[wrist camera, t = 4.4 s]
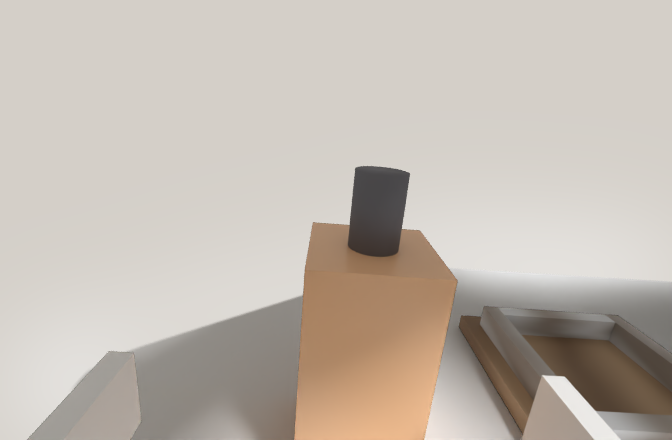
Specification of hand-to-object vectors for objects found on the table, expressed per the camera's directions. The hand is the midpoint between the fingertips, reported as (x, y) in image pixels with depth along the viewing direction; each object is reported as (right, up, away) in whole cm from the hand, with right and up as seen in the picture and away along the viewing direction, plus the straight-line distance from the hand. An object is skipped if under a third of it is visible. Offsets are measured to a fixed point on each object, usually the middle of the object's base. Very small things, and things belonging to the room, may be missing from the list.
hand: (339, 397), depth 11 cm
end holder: (+15, -5, +10) cm, 19 cm away
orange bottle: (0, -5, +5) cm, 7 cm away
